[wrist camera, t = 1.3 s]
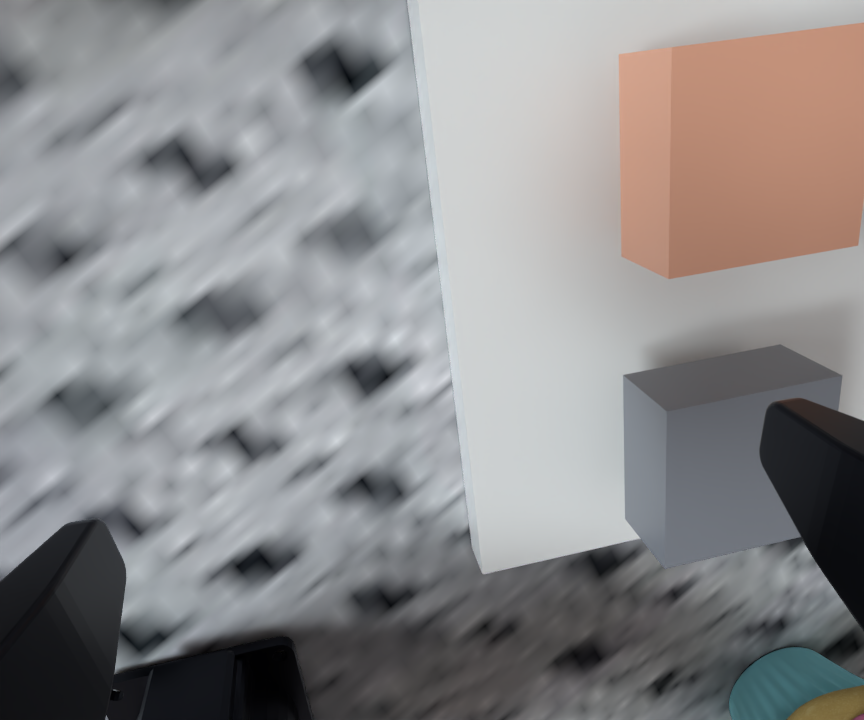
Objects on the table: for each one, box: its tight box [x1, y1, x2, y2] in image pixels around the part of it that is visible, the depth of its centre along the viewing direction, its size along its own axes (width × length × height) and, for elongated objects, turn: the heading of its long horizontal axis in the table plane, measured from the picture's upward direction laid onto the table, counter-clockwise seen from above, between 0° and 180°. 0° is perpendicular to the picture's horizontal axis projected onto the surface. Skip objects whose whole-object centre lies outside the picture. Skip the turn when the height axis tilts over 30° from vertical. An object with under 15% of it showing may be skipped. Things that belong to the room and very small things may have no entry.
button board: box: [407, 0, 864, 574], centre depth 20 cm, size 26×14×2 cm, turn 7°
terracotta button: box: [619, 23, 864, 279], centre depth 17 cm, size 5×5×2 cm
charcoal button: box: [623, 344, 842, 569], centre depth 20 cm, size 5×5×2 cm
